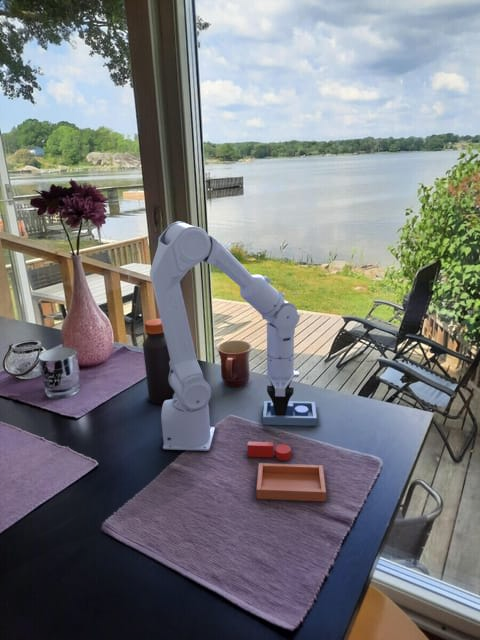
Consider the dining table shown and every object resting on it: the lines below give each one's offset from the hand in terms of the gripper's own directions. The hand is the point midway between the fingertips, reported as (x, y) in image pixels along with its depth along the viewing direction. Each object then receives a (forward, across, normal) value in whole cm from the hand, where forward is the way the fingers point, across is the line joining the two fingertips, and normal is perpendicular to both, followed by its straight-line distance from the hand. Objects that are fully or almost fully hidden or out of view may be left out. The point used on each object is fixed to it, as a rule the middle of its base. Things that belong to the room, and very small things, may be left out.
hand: (280, 409), depth 99 cm
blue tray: (+2, 0, -2) cm, 3 cm away
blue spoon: (+1, 0, -2) cm, 2 cm away
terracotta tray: (+2, -23, -2) cm, 23 cm away
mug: (+2, +14, +12) cm, 19 cm away
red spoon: (+2, -14, +2) cm, 15 cm away
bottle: (+2, +7, +29) cm, 30 cm away
